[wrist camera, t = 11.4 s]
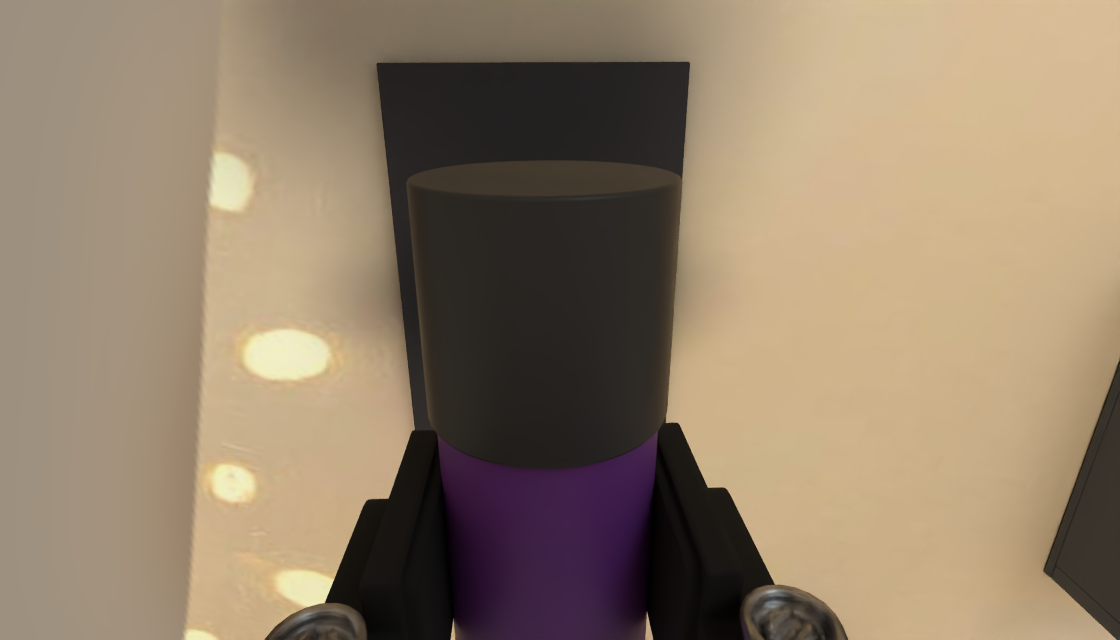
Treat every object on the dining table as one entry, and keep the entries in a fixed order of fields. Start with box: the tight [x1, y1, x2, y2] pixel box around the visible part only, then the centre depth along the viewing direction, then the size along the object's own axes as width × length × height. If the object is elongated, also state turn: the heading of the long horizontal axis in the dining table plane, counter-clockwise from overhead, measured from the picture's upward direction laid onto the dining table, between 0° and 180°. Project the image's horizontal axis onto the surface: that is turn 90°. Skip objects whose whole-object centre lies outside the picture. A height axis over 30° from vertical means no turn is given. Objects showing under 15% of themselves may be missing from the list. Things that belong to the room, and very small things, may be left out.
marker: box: [406, 160, 682, 640], centre depth 11 cm, size 4×12×4 cm, turn 0°
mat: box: [377, 62, 690, 430], centre depth 22 cm, size 16×10×1 cm, turn 0°
